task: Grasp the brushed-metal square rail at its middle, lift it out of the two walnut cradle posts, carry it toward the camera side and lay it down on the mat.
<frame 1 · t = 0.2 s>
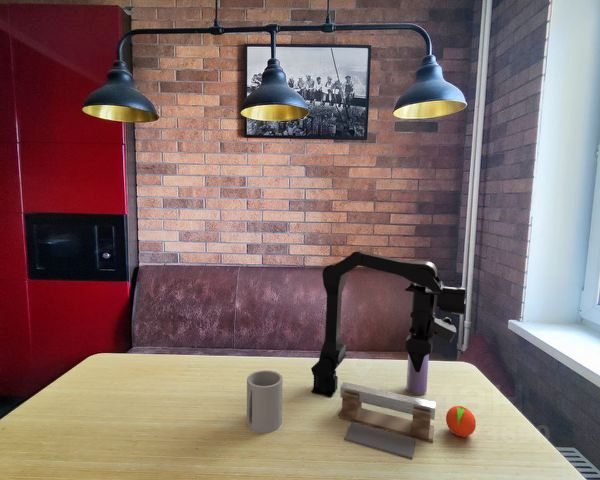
hand: (418, 364, 97), 14 cm above the table, tool pointing down, fingers open, 9 cm apart
mat: (379, 440, 87), on the table
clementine: (459, 435, 90), on the table
rack: (385, 423, 94), on the table
rail: (385, 405, 94), point 5 cm above the table, touching rack
cup: (264, 422, 94), on the table
beverage can: (416, 391, 111), on the table
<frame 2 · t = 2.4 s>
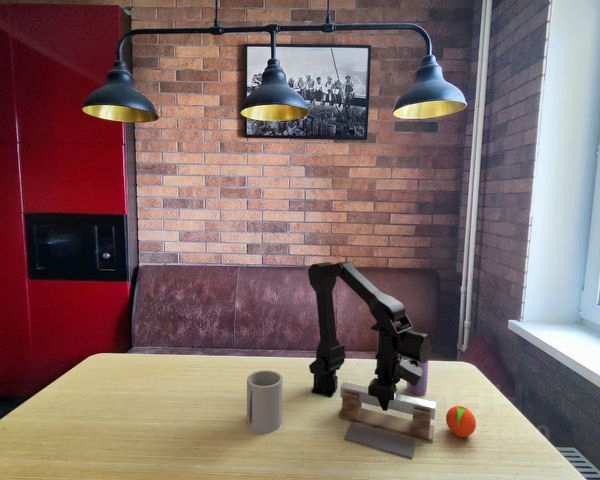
hand: (385, 407, 94), 4 cm above the table, tool pointing down, fingers closed on rail, 3 cm apart
rail: (385, 405, 94), point 5 cm above the table, touching gripper, rack
everything else where it was.
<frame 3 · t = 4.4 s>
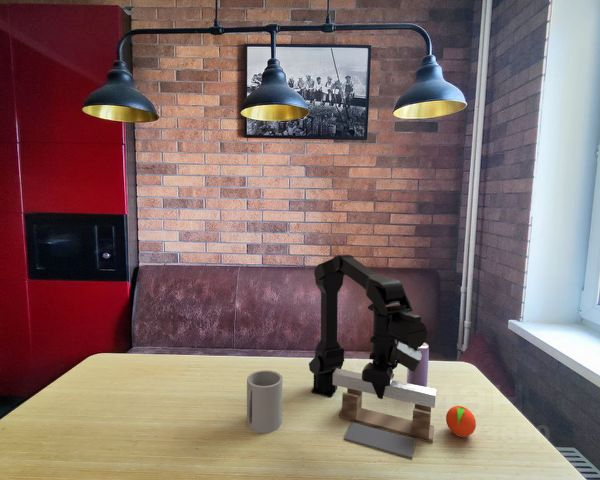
hand: (381, 395, 86), 12 cm above the table, tool pointing down, fingers closed on rail, 3 cm apart
rail: (381, 392, 86), point 12 cm above the table, touching gripper
everything else where it was.
when the fingers open (1 cm above the table, at t = 6.4 s): rail drops 1 cm, resting on mat.
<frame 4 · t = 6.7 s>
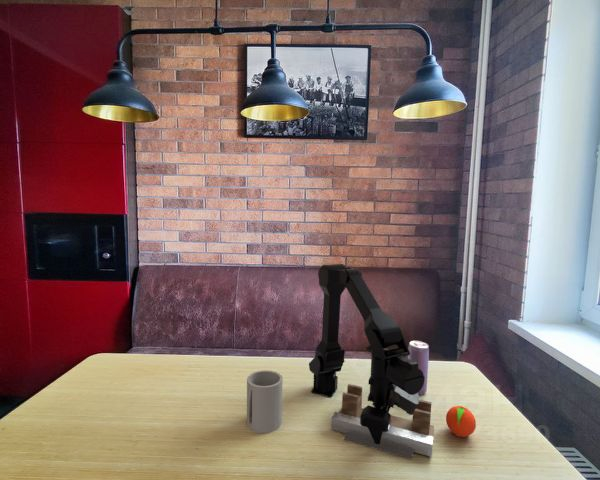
hand: (379, 435, 87), 1 cm above the table, tool pointing down, fingers open, 6 cm apart
rail: (379, 438, 87), resting on mat
everything else where it was.
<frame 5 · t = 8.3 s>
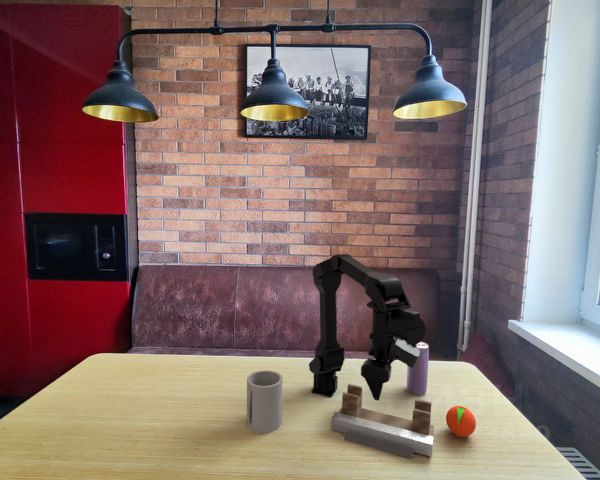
hand: (380, 390, 88), 12 cm above the table, tool pointing down, fingers open, 9 cm apart
nothing on the table moved.
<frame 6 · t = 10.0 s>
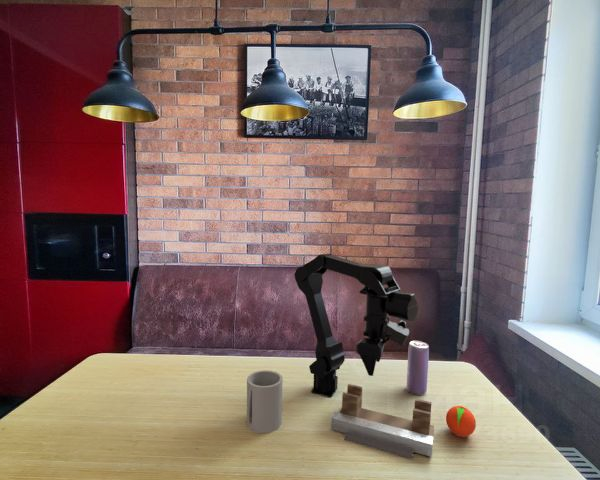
hand: (374, 368, 97), 13 cm above the table, tool pointing down, fingers open, 9 cm apart
nothing on the table moved.
at the end: rail inside the target area on the mat (0.0 cm from its centre), point 0.4 cm above the mat's base; rail resting on mat; the gripper is holding nothing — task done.
